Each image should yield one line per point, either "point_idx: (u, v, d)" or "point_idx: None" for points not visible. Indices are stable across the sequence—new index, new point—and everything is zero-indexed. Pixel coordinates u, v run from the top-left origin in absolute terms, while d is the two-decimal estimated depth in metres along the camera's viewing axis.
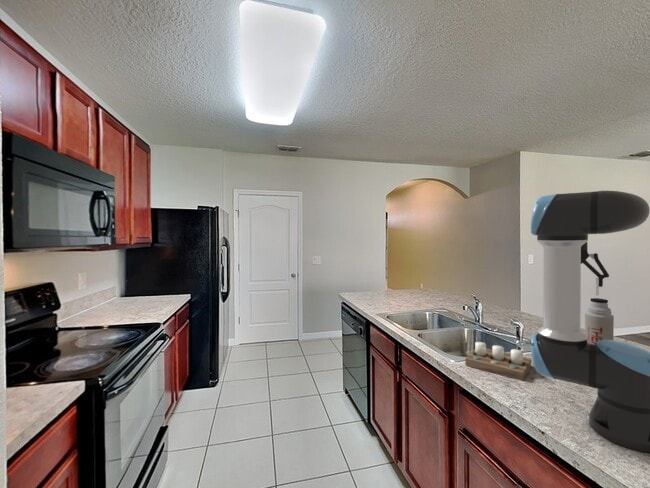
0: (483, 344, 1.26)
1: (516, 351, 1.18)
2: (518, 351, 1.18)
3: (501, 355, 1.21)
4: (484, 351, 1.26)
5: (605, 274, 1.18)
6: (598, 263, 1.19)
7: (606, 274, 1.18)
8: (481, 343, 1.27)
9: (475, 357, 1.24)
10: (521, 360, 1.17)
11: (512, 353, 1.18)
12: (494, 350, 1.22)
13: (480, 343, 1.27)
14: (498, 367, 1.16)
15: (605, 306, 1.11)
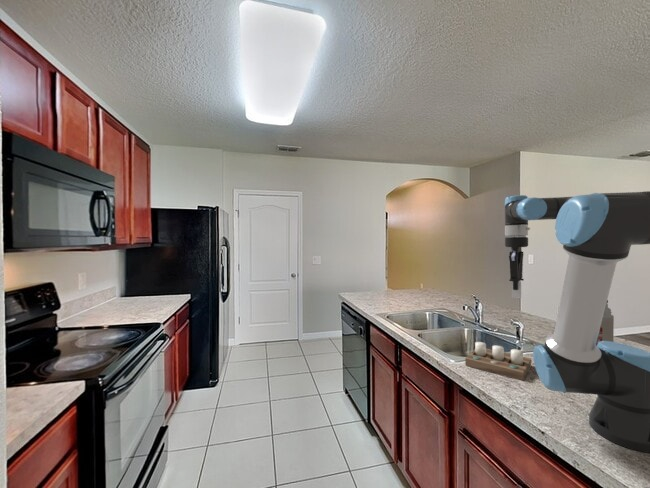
0: (483, 344, 1.26)
1: (516, 351, 1.18)
2: (518, 351, 1.18)
3: (501, 355, 1.21)
4: (484, 351, 1.26)
5: None
6: (510, 265, 1.15)
7: None
8: (481, 343, 1.27)
9: (475, 357, 1.24)
10: (521, 360, 1.17)
11: (512, 353, 1.18)
12: (494, 350, 1.22)
13: (480, 343, 1.27)
14: (498, 367, 1.16)
15: None
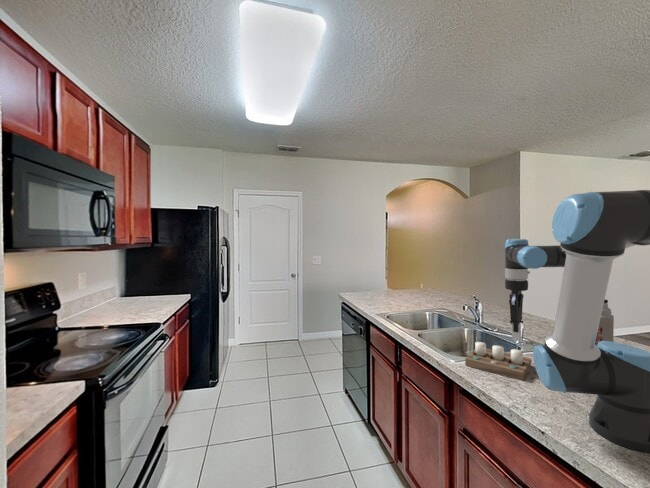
0: (483, 344, 1.26)
1: (516, 351, 1.18)
2: (518, 351, 1.18)
3: (501, 355, 1.21)
4: (484, 351, 1.26)
5: (511, 319, 1.17)
6: (510, 308, 1.16)
7: None
8: (481, 343, 1.27)
9: (475, 357, 1.24)
10: (521, 360, 1.17)
11: (512, 353, 1.18)
12: (494, 350, 1.22)
13: (480, 343, 1.27)
14: (498, 367, 1.16)
15: (605, 306, 1.11)
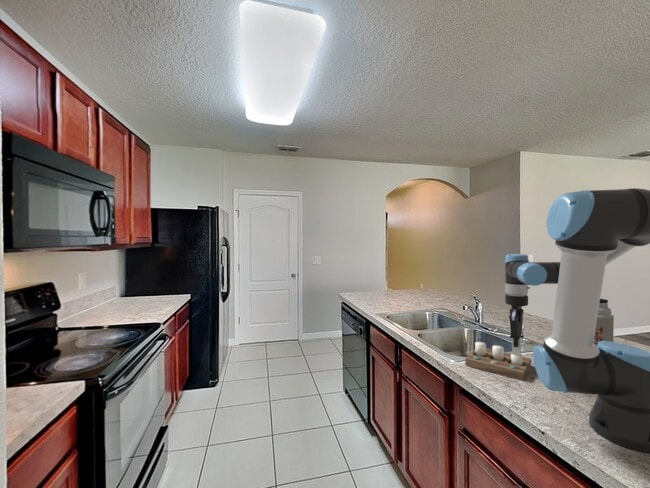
0: (483, 344, 1.26)
1: (516, 355, 1.18)
2: None
3: (501, 355, 1.21)
4: (484, 351, 1.26)
5: (511, 334, 1.17)
6: (510, 323, 1.16)
7: (511, 334, 1.17)
8: (481, 343, 1.27)
9: (475, 357, 1.24)
10: (521, 364, 1.17)
11: (512, 357, 1.18)
12: (494, 350, 1.22)
13: (480, 343, 1.27)
14: (498, 367, 1.16)
15: (605, 306, 1.11)
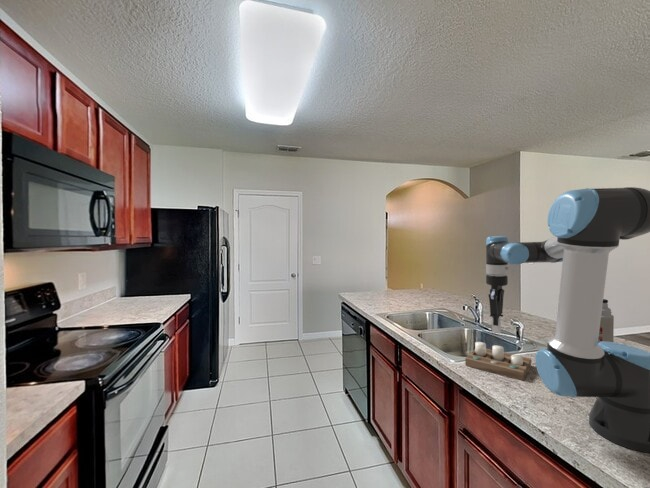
0: (483, 344, 1.26)
1: (516, 357, 1.18)
2: (518, 357, 1.18)
3: (501, 355, 1.21)
4: (484, 351, 1.26)
5: None
6: None
7: None
8: (481, 343, 1.27)
9: (475, 357, 1.24)
10: None
11: (512, 359, 1.18)
12: (494, 350, 1.22)
13: (480, 343, 1.27)
14: (498, 367, 1.16)
15: (605, 306, 1.11)
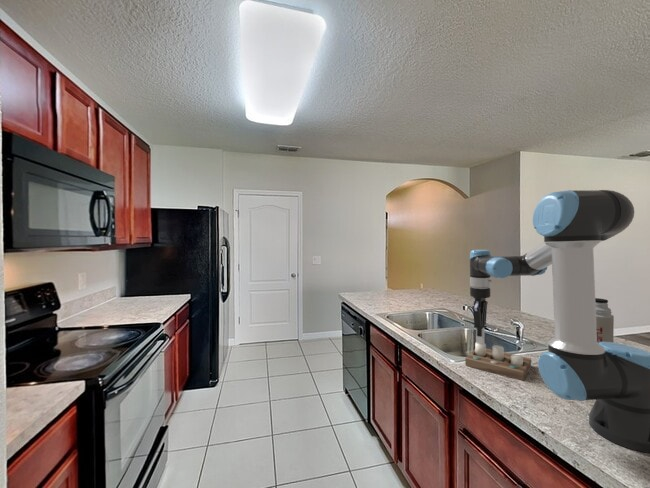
0: (483, 344, 1.26)
1: (516, 357, 1.18)
2: (518, 357, 1.18)
3: (501, 355, 1.21)
4: (484, 351, 1.26)
5: None
6: None
7: None
8: None
9: (475, 357, 1.24)
10: None
11: (512, 359, 1.18)
12: (494, 350, 1.22)
13: None
14: (498, 367, 1.16)
15: (605, 306, 1.11)
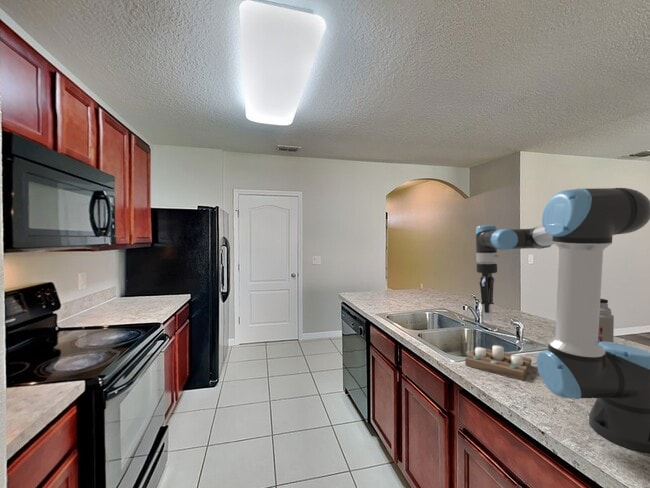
0: (483, 349, 1.26)
1: (516, 357, 1.18)
2: (518, 357, 1.18)
3: (501, 355, 1.21)
4: (484, 356, 1.26)
5: None
6: None
7: None
8: (481, 348, 1.28)
9: (475, 357, 1.24)
10: None
11: (512, 359, 1.18)
12: (494, 350, 1.22)
13: (480, 348, 1.28)
14: (498, 367, 1.16)
15: (605, 306, 1.11)
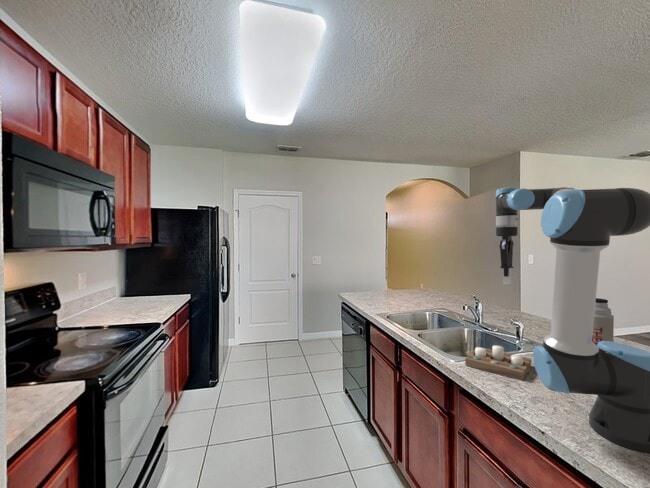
0: (483, 349, 1.26)
1: (516, 357, 1.18)
2: (518, 357, 1.18)
3: (501, 355, 1.21)
4: (484, 356, 1.26)
5: None
6: None
7: (501, 264, 1.23)
8: (481, 348, 1.28)
9: (475, 357, 1.24)
10: None
11: (512, 359, 1.18)
12: (494, 350, 1.22)
13: (480, 348, 1.28)
14: (498, 367, 1.16)
15: (605, 306, 1.11)
